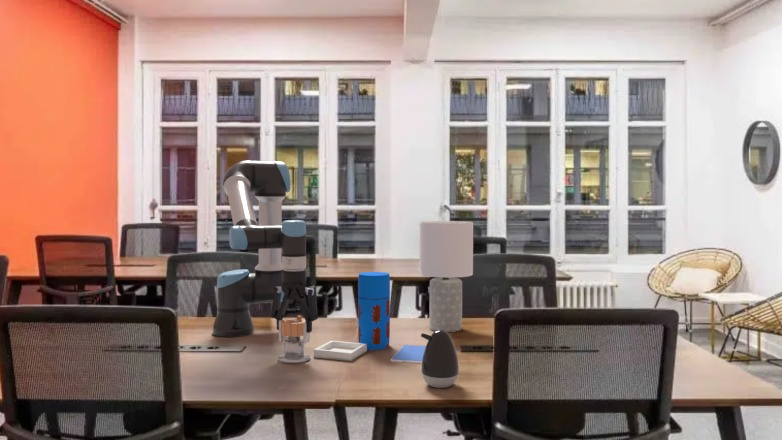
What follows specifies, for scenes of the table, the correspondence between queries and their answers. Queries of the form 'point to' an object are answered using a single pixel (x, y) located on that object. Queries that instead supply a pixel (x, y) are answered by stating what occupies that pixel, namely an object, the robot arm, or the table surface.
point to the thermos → (374, 309)
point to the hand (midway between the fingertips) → (294, 341)
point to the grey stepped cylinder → (294, 351)
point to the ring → (292, 327)
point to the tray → (340, 350)
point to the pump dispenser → (439, 360)
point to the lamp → (446, 269)
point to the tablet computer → (409, 354)
